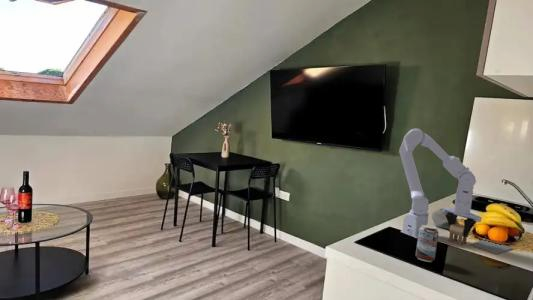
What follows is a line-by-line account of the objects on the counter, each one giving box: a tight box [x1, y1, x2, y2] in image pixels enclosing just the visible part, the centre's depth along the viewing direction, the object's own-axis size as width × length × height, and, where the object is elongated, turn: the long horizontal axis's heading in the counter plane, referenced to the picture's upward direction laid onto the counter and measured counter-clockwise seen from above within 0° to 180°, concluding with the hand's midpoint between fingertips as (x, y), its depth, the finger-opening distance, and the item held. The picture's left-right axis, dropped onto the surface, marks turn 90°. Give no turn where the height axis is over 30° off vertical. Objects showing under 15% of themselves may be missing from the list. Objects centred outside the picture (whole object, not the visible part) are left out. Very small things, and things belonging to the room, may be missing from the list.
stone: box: [431, 208, 459, 230], centre depth 161 cm, size 10×10×10 cm
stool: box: [448, 224, 468, 245], centre depth 143 cm, size 5×5×6 cm
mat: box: [469, 239, 513, 256], centre depth 141 cm, size 13×10×1 cm
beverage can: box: [415, 224, 439, 263], centre depth 122 cm, size 6×7×12 cm
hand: (458, 234), depth 143 cm, fingers closed on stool, 5 cm apart
